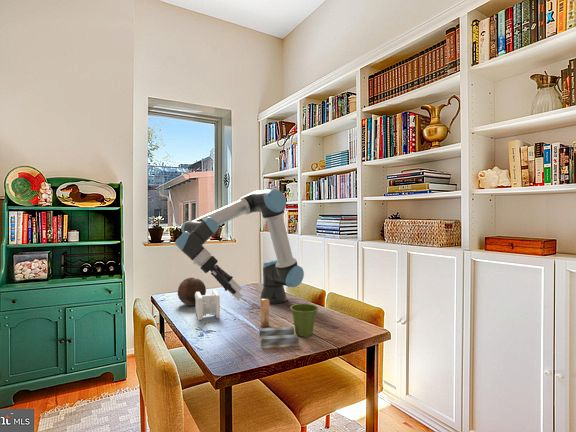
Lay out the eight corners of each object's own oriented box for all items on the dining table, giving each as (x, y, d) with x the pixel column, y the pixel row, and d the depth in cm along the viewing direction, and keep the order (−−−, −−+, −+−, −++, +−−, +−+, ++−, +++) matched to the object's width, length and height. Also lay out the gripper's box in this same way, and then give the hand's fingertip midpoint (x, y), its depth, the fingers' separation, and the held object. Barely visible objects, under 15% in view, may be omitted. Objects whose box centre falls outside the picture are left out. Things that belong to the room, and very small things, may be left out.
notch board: (261, 348, 131) (261, 339, 131) (259, 336, 143) (259, 328, 143) (297, 346, 133) (297, 337, 133) (292, 334, 145) (292, 326, 145)
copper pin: (264, 323, 159) (264, 297, 159) (271, 325, 157) (271, 299, 157) (258, 326, 156) (258, 299, 156) (265, 328, 154) (265, 301, 153)
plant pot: (297, 341, 138) (297, 313, 138) (285, 331, 149) (285, 305, 149) (323, 336, 143) (323, 309, 143) (310, 327, 154) (310, 302, 154)
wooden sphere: (210, 301, 198) (210, 275, 197) (199, 309, 183) (198, 281, 182) (185, 300, 200) (185, 274, 200) (172, 308, 185) (172, 280, 185)
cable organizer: (220, 319, 165) (220, 295, 165) (197, 322, 162) (197, 297, 162) (215, 311, 180) (215, 288, 179) (194, 313, 176) (194, 290, 176)
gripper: (202, 263, 164) (234, 293, 167) (196, 272, 139) (234, 308, 142) (213, 251, 165) (245, 282, 167) (209, 259, 140) (247, 294, 143)
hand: (240, 294), depth 155 cm, fingers open, 13 cm apart
